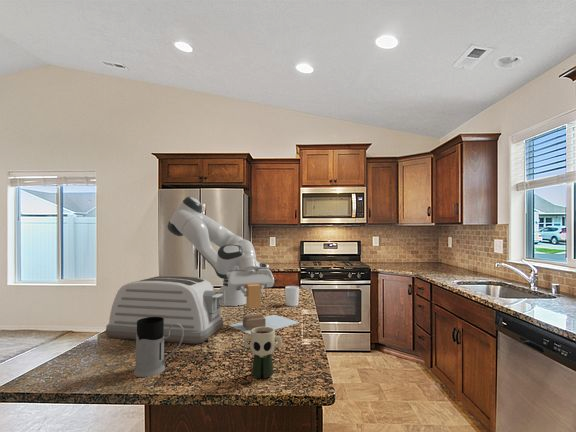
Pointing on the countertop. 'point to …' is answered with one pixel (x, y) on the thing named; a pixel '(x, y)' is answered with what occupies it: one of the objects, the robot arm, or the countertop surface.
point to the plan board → (269, 323)
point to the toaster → (167, 308)
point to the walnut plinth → (253, 321)
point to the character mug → (262, 350)
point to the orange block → (253, 295)
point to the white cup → (292, 295)
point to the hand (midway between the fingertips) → (253, 295)
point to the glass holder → (151, 346)
